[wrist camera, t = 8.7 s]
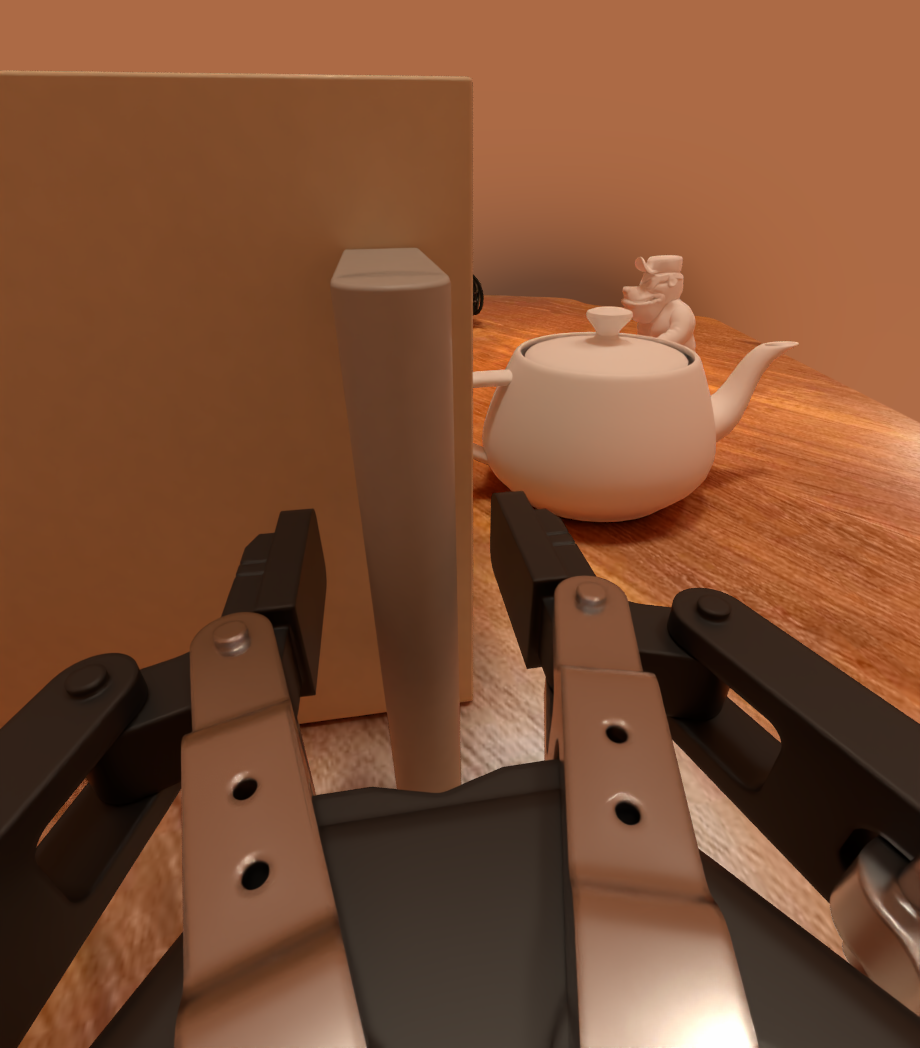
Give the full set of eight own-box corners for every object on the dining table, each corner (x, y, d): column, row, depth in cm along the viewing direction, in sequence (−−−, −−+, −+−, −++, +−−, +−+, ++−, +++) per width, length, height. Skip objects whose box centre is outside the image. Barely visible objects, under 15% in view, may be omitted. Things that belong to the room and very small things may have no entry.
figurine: (589, 393, 50) (606, 251, 43) (656, 391, 50) (683, 249, 44) (622, 429, 42) (649, 263, 35) (701, 426, 42) (742, 260, 36)
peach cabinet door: (510, 871, 14) (578, -47, 5) (-148, 987, 12) (-2037, -159, 3) (468, 680, 20) (464, 85, 11) (14, 739, 18) (-475, 75, 9)
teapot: (440, 561, 27) (431, 346, 21) (421, 453, 39) (412, 295, 33) (830, 526, 29) (917, 324, 24) (703, 434, 41) (740, 283, 35)
